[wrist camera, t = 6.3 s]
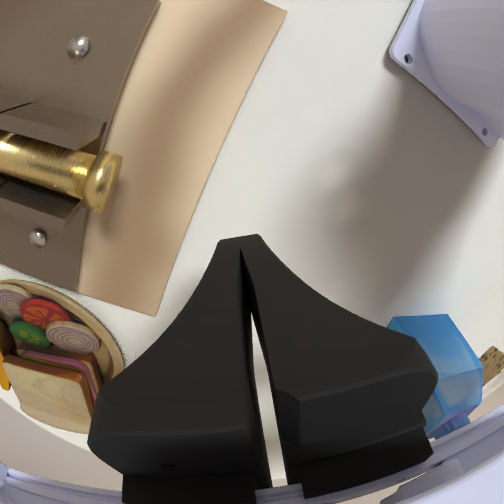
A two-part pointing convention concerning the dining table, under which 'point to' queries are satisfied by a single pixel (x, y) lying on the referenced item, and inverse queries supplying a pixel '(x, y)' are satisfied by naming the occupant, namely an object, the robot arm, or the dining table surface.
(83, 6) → the hinge leaves
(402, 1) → the dining table surface
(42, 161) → the hinge pin
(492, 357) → the tan speckled flat slab
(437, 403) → the perfume bottle
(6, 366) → the toy sandwich meal
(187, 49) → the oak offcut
